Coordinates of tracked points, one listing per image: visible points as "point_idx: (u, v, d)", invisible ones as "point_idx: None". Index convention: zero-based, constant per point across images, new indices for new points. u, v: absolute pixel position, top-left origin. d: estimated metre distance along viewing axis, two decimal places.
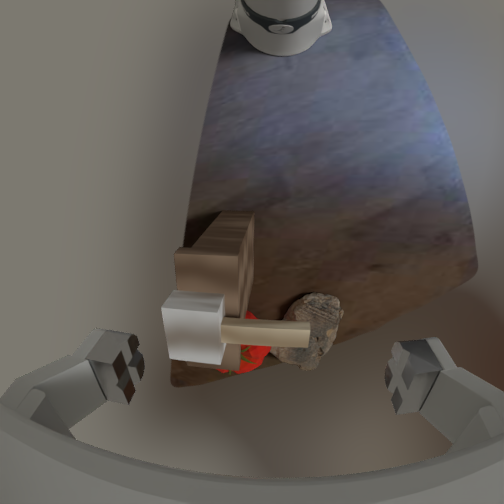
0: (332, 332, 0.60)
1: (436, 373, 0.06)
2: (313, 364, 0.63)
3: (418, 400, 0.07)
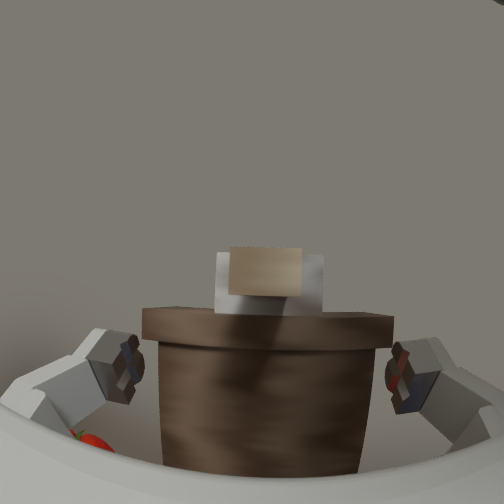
0: None
1: (436, 373, 0.06)
2: None
3: (418, 400, 0.07)
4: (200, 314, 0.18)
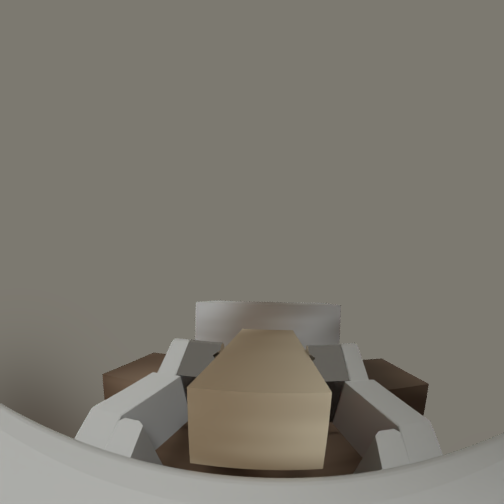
0: None
1: (340, 383, 0.07)
2: None
3: None
4: None
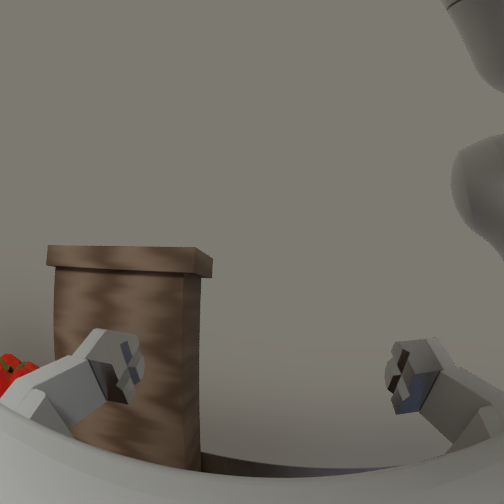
0: None
1: (436, 373, 0.06)
2: None
3: (418, 400, 0.07)
4: (75, 246, 0.24)
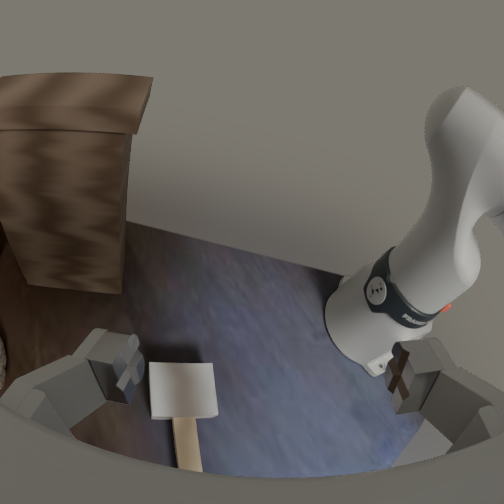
0: None
1: (436, 373, 0.06)
2: None
3: (418, 400, 0.07)
4: None
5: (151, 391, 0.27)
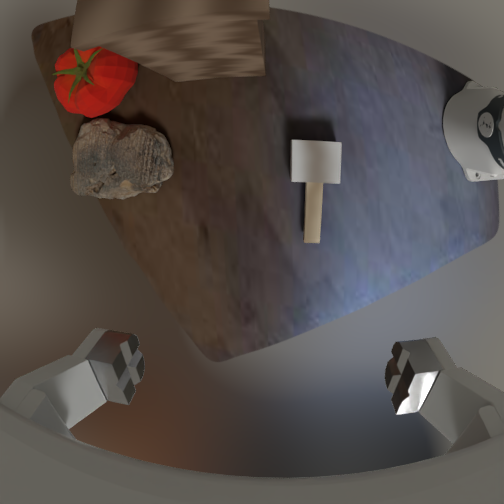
0: (127, 188, 0.44)
1: (436, 373, 0.06)
2: (80, 187, 0.44)
3: (418, 400, 0.07)
4: (109, 34, 0.16)
5: (292, 162, 0.40)
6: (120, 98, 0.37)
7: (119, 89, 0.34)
